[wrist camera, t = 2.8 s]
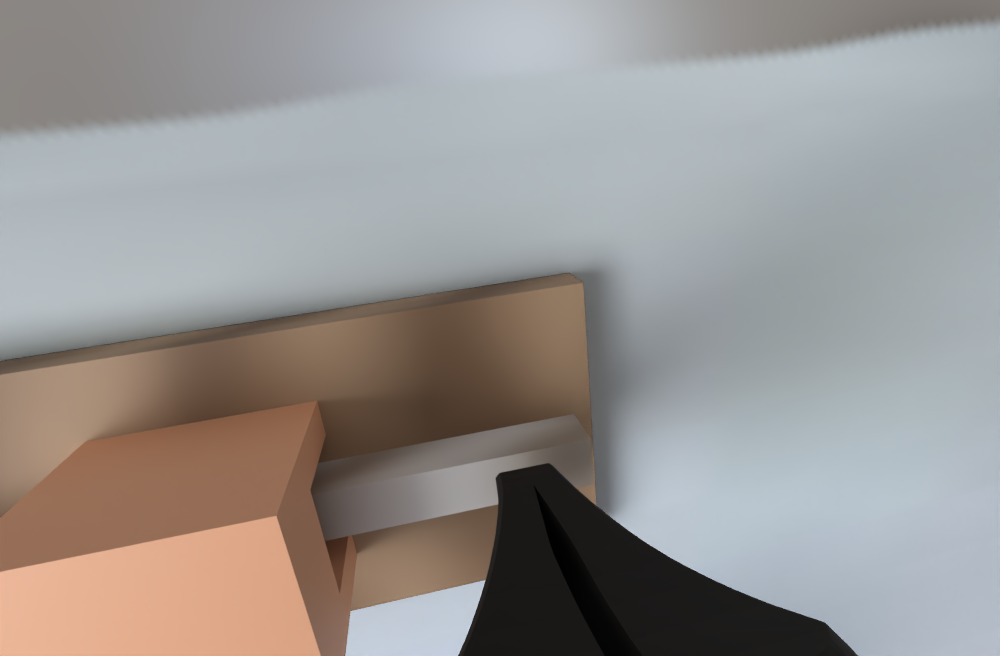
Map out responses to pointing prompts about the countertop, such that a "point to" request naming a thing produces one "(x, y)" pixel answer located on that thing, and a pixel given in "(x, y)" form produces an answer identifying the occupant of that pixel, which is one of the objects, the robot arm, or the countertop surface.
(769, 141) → the countertop surface
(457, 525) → the rail board
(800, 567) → the countertop surface
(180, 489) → the slider block
